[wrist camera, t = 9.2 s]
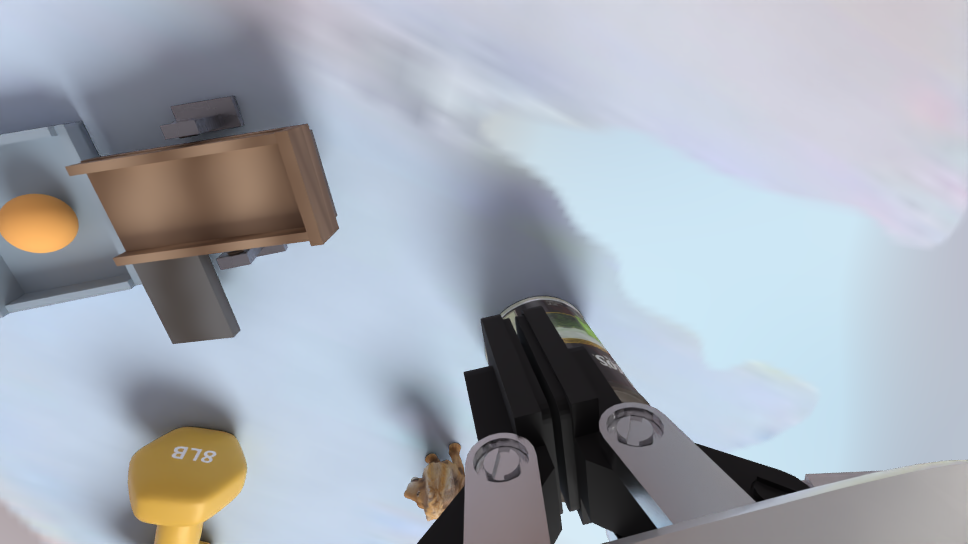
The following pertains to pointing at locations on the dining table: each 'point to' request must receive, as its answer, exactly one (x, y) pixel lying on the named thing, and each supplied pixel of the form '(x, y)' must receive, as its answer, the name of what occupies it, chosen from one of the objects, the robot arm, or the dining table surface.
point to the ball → (38, 223)
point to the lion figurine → (438, 483)
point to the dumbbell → (185, 481)
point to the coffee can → (579, 341)
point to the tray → (89, 257)
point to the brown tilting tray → (210, 215)
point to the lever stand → (209, 119)
